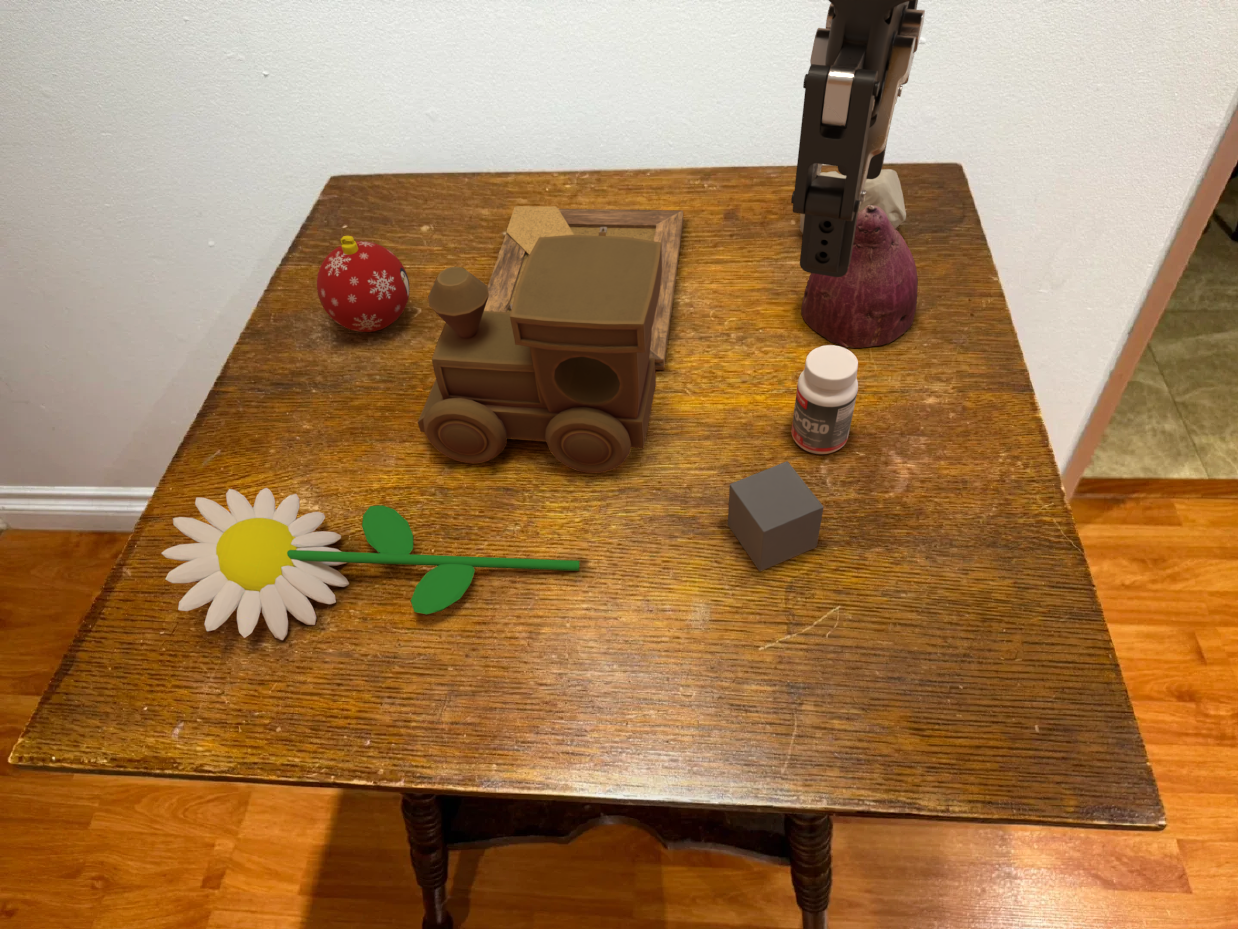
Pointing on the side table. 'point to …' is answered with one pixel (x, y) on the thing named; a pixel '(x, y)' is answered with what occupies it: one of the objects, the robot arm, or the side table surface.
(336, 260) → the christmas ornament
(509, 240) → the picture frame
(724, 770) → the side table surface
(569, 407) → the wooden toy train
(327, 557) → the decorative flower
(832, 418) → the pill bottle
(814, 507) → the grey block
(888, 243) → the vegetable
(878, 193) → the decorative stone
